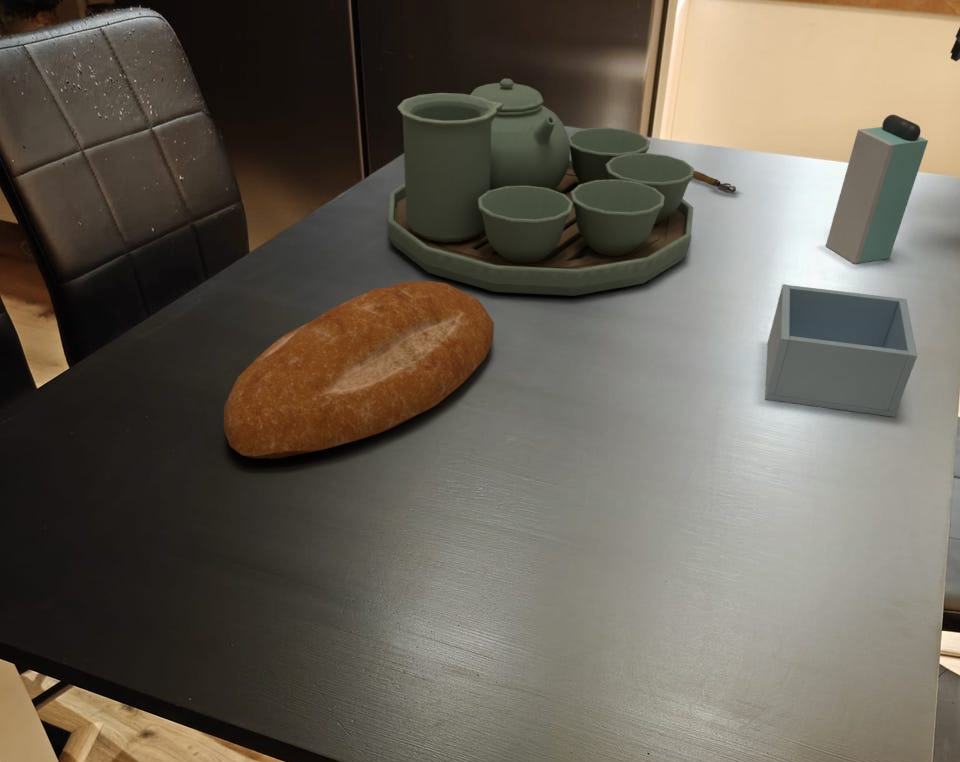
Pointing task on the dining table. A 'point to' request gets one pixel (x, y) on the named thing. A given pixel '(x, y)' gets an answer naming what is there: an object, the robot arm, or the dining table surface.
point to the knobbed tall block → (876, 190)
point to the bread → (358, 370)
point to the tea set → (533, 197)
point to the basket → (840, 350)
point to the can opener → (713, 182)
